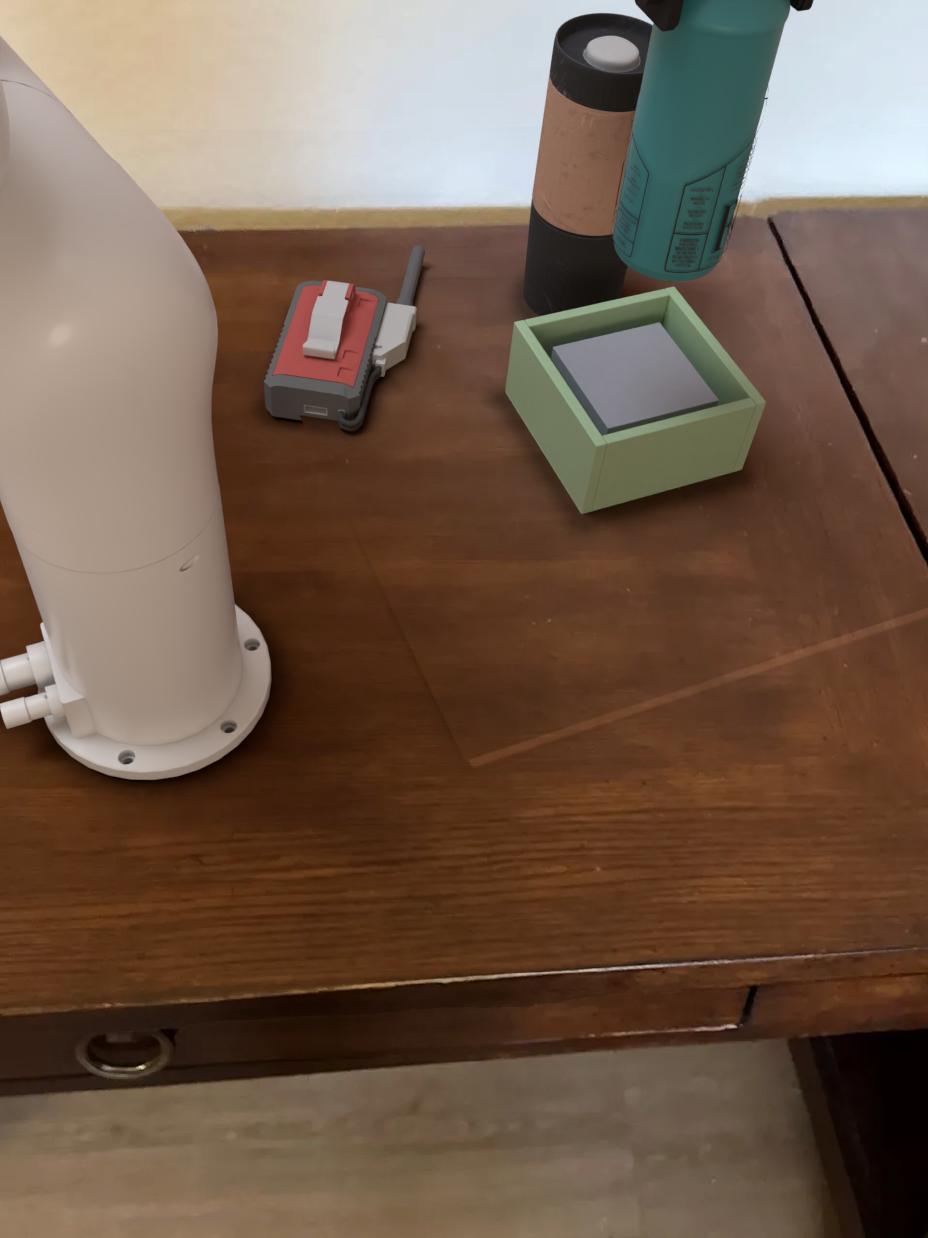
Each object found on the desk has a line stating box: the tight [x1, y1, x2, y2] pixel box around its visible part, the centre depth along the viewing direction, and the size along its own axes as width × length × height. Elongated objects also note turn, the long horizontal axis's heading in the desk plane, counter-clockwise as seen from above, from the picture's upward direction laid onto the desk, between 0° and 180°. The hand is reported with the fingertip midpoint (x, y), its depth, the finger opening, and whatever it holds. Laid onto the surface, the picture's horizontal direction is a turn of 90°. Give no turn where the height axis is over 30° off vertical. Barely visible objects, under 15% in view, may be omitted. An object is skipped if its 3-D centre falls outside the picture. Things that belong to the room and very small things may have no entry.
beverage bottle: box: [611, 0, 791, 283], centre depth 61 cm, size 6×7×20 cm
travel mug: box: [522, 12, 653, 317], centre depth 83 cm, size 8×8×20 cm
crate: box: [504, 286, 767, 515], centre depth 80 cm, size 12×12×7 cm
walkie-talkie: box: [263, 245, 426, 432], centre depth 85 cm, size 9×4×20 cm
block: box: [551, 323, 719, 436], centre depth 80 cm, size 8×8×5 cm
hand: (722, 3), depth 57 cm, fingers closed on beverage bottle, 6 cm apart
